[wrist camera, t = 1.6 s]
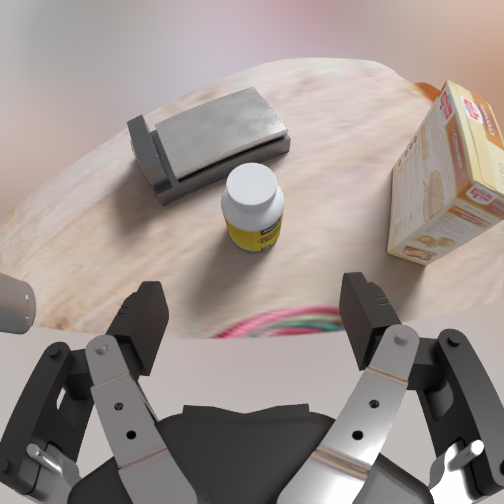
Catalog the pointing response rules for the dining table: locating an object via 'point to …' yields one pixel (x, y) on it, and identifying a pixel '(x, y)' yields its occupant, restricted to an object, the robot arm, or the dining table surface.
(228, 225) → the pill bottle
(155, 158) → the kitchen scale
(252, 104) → the pan
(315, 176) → the dining table surface
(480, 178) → the coffeecake box
